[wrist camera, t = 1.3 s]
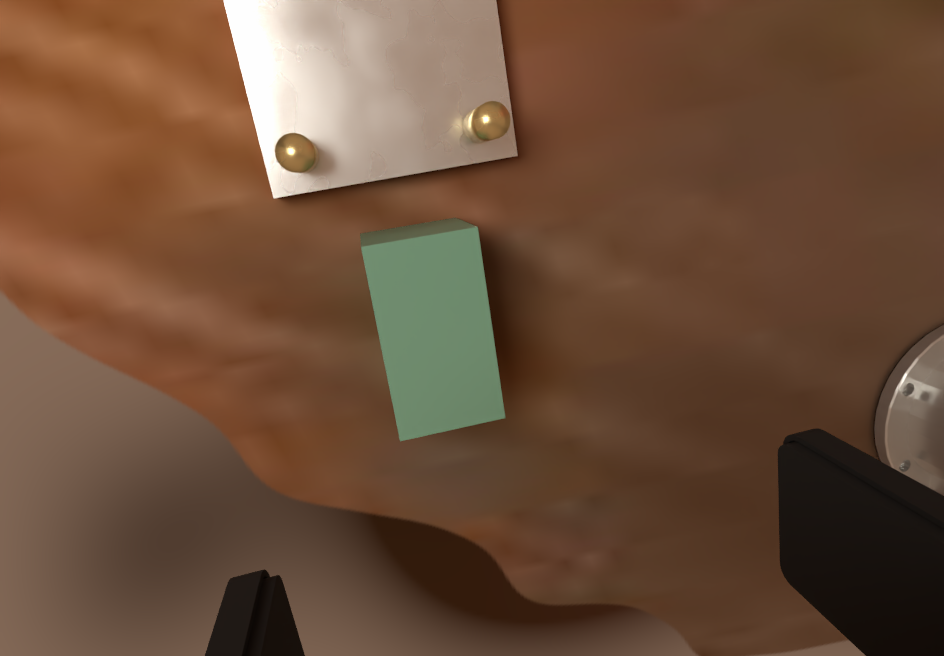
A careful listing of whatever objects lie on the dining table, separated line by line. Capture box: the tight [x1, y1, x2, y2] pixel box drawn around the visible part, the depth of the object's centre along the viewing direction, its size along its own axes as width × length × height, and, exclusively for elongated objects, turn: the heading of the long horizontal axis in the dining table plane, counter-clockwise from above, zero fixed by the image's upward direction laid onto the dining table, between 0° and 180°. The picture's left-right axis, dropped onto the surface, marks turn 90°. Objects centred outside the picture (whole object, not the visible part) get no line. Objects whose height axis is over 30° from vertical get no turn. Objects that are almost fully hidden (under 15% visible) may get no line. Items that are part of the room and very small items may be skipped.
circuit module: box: [360, 218, 505, 441], centre depth 29 cm, size 9×5×6 cm, turn 9°
